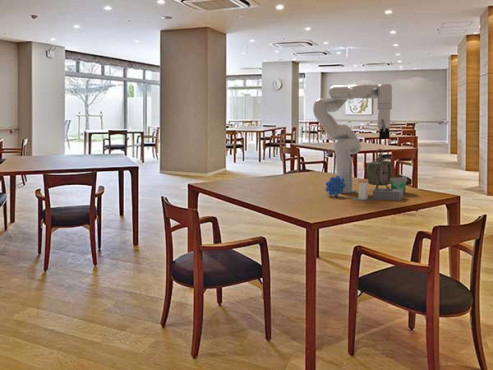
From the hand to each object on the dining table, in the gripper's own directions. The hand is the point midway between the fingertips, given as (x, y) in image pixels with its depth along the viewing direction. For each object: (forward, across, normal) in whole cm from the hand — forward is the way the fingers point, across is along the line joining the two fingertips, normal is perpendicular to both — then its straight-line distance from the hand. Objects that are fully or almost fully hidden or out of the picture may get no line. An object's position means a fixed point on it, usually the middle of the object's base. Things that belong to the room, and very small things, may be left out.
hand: (384, 138), depth 269 cm
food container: (+32, -10, +7) cm, 35 cm away
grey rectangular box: (+32, +8, +4) cm, 34 cm away
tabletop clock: (+32, -21, -8) cm, 40 cm away
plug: (+32, +14, -8) cm, 36 cm away
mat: (+32, +14, -8) cm, 36 cm away
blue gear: (+32, +6, -26) cm, 42 cm away
